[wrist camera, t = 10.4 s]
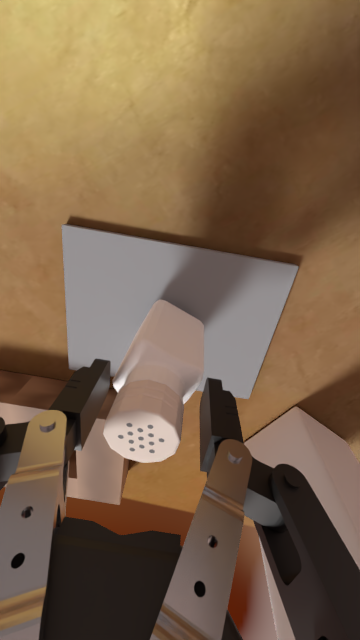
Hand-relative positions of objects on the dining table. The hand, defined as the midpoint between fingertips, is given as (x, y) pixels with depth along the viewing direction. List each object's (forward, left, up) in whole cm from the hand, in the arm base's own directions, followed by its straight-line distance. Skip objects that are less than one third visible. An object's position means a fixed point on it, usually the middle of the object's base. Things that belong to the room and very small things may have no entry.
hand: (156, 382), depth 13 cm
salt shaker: (0, 0, -6) cm, 6 cm away
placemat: (0, 0, -7) cm, 7 cm away
